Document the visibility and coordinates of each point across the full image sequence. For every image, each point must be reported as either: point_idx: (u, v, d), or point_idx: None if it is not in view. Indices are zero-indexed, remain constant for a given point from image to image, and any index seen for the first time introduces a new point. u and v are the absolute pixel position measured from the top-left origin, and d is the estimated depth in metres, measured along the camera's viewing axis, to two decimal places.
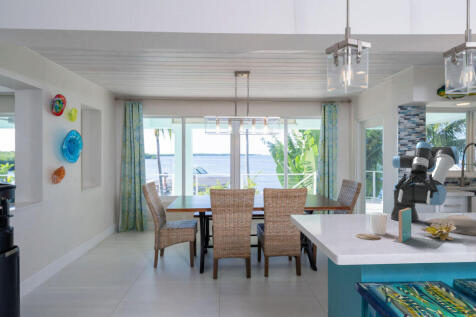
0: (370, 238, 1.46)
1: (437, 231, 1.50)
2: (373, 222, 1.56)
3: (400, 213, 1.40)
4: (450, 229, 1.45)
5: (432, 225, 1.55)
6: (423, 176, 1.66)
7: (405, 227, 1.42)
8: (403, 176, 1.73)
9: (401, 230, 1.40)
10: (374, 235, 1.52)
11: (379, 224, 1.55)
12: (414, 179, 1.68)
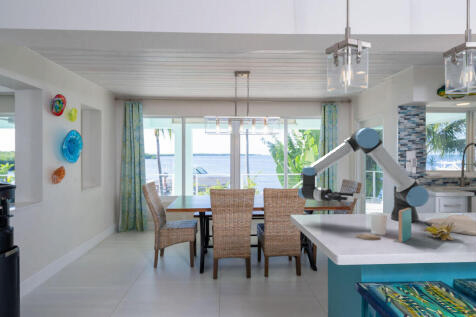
0: (370, 238, 1.46)
1: (438, 231, 1.50)
2: (373, 222, 1.56)
3: (400, 213, 1.40)
4: (451, 229, 1.45)
5: (433, 225, 1.55)
6: None
7: (405, 227, 1.42)
8: None
9: (401, 230, 1.40)
10: (374, 235, 1.52)
11: (379, 224, 1.55)
12: None
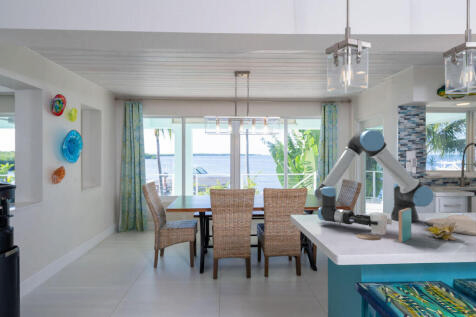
0: (370, 238, 1.46)
1: (440, 231, 1.50)
2: None
3: (400, 213, 1.40)
4: (453, 229, 1.45)
5: (435, 225, 1.55)
6: None
7: (405, 227, 1.42)
8: None
9: (401, 230, 1.40)
10: (374, 235, 1.52)
11: None
12: None
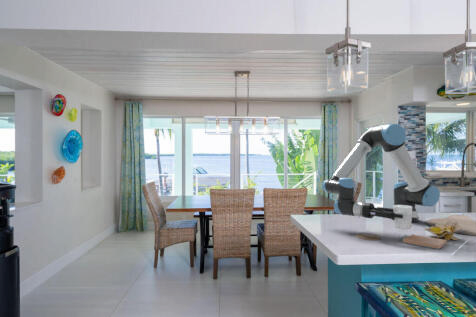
0: (370, 238, 1.46)
1: (442, 231, 1.50)
2: None
3: (436, 246, 1.30)
4: (455, 229, 1.45)
5: (437, 225, 1.55)
6: None
7: None
8: None
9: (416, 244, 1.36)
10: (374, 235, 1.52)
11: None
12: None
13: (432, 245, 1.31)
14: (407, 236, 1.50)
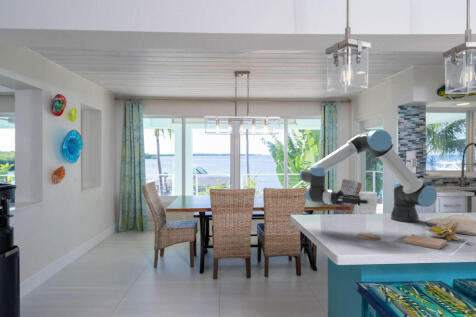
0: (370, 238, 1.46)
1: (443, 231, 1.50)
2: None
3: (436, 246, 1.30)
4: (456, 229, 1.45)
5: (438, 225, 1.55)
6: None
7: None
8: None
9: (416, 244, 1.36)
10: (374, 235, 1.52)
11: None
12: None
13: (432, 245, 1.31)
14: (407, 236, 1.50)
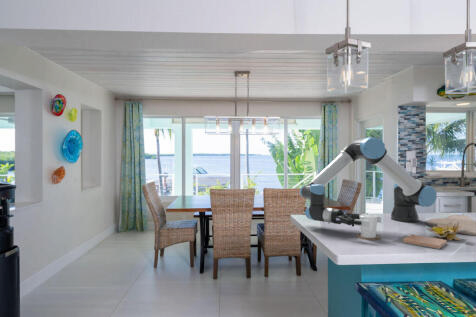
0: (370, 238, 1.46)
1: (444, 231, 1.50)
2: None
3: (436, 246, 1.30)
4: (457, 229, 1.45)
5: (439, 225, 1.55)
6: None
7: None
8: None
9: (416, 244, 1.36)
10: None
11: (369, 226, 1.46)
12: None
13: (432, 245, 1.31)
14: (407, 236, 1.50)
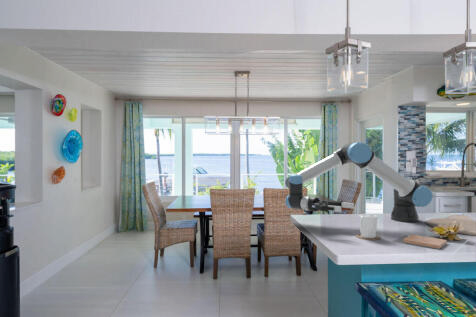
0: (370, 238, 1.46)
1: (445, 231, 1.50)
2: (362, 224, 1.48)
3: (436, 246, 1.30)
4: (458, 229, 1.45)
5: (440, 225, 1.55)
6: None
7: None
8: None
9: (416, 244, 1.36)
10: None
11: (369, 227, 1.46)
12: None
13: (432, 245, 1.31)
14: (407, 236, 1.50)
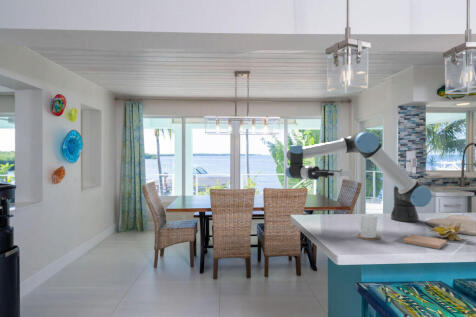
0: (370, 238, 1.46)
1: (446, 231, 1.50)
2: (362, 224, 1.48)
3: (436, 246, 1.30)
4: (459, 229, 1.45)
5: (441, 225, 1.55)
6: None
7: None
8: None
9: (416, 244, 1.36)
10: None
11: (368, 226, 1.46)
12: None
13: (432, 245, 1.31)
14: (407, 236, 1.50)
